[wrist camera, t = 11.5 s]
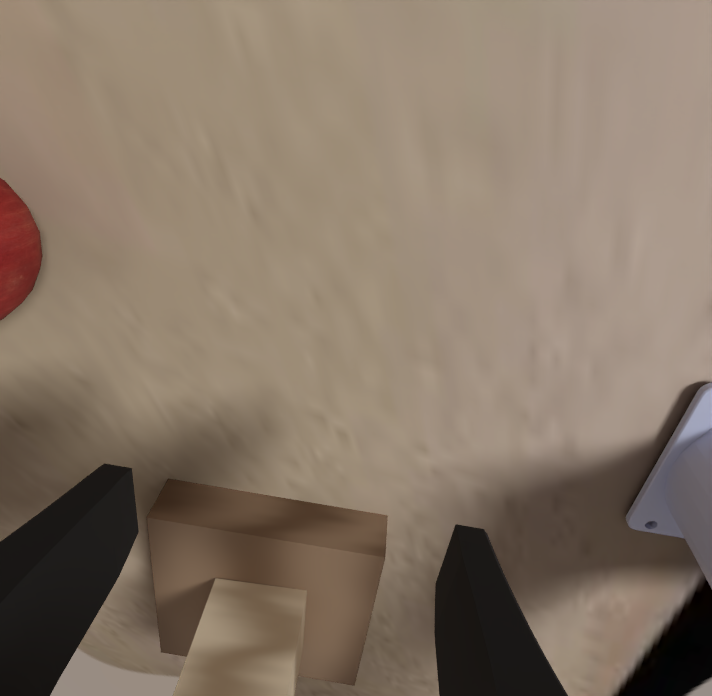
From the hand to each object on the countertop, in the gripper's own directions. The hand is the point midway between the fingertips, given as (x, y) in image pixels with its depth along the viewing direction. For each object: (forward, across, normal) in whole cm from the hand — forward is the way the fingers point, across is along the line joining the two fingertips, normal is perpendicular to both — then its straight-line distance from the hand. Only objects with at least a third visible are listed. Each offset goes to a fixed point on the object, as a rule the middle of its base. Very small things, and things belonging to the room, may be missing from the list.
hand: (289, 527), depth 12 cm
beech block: (+8, +2, +16) cm, 18 cm away
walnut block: (+11, +2, +16) cm, 20 cm away
